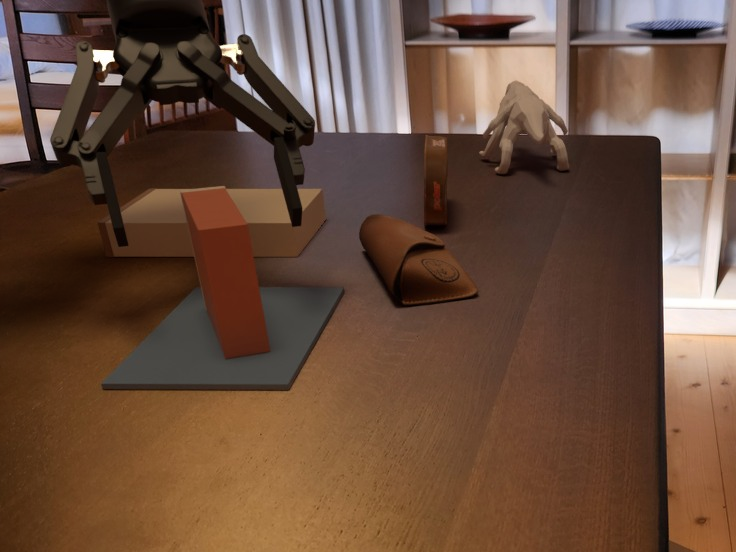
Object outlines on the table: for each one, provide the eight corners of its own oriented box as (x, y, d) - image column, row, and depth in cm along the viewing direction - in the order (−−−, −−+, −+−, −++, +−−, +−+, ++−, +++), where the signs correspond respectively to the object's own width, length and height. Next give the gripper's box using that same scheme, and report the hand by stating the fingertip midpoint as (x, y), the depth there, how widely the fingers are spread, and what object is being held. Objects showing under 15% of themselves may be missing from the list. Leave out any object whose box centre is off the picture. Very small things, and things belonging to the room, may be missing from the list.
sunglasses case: (485, 291, 81) (446, 231, 77) (424, 337, 81) (381, 280, 77) (437, 237, 95) (401, 184, 91) (384, 277, 95) (346, 226, 91)
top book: (224, 360, 69) (196, 229, 63) (205, 308, 78) (179, 190, 72) (271, 352, 70) (248, 222, 64) (247, 302, 79) (224, 185, 73)
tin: (426, 200, 110) (421, 127, 105) (451, 200, 110) (447, 127, 105) (423, 236, 97) (417, 155, 92) (452, 235, 97) (447, 154, 93)
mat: (102, 389, 66) (100, 383, 65) (196, 292, 83) (195, 286, 83) (288, 390, 65) (287, 384, 65) (344, 292, 82) (344, 286, 82)
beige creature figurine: (551, 147, 135) (552, 75, 129) (593, 187, 115) (596, 103, 109) (473, 151, 133) (470, 78, 128) (501, 192, 113) (499, 107, 107)
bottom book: (106, 257, 92) (97, 222, 90) (156, 220, 104) (149, 188, 102) (297, 257, 91) (292, 222, 89) (326, 220, 103) (322, 188, 101)
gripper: (301, 25, 81) (360, 233, 78) (0, 38, 73) (52, 270, 70) (305, -42, 74) (369, 184, 71) (-28, -36, 66) (28, 219, 63)
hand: (212, 227), depth 70 cm, fingers open, 13 cm apart
